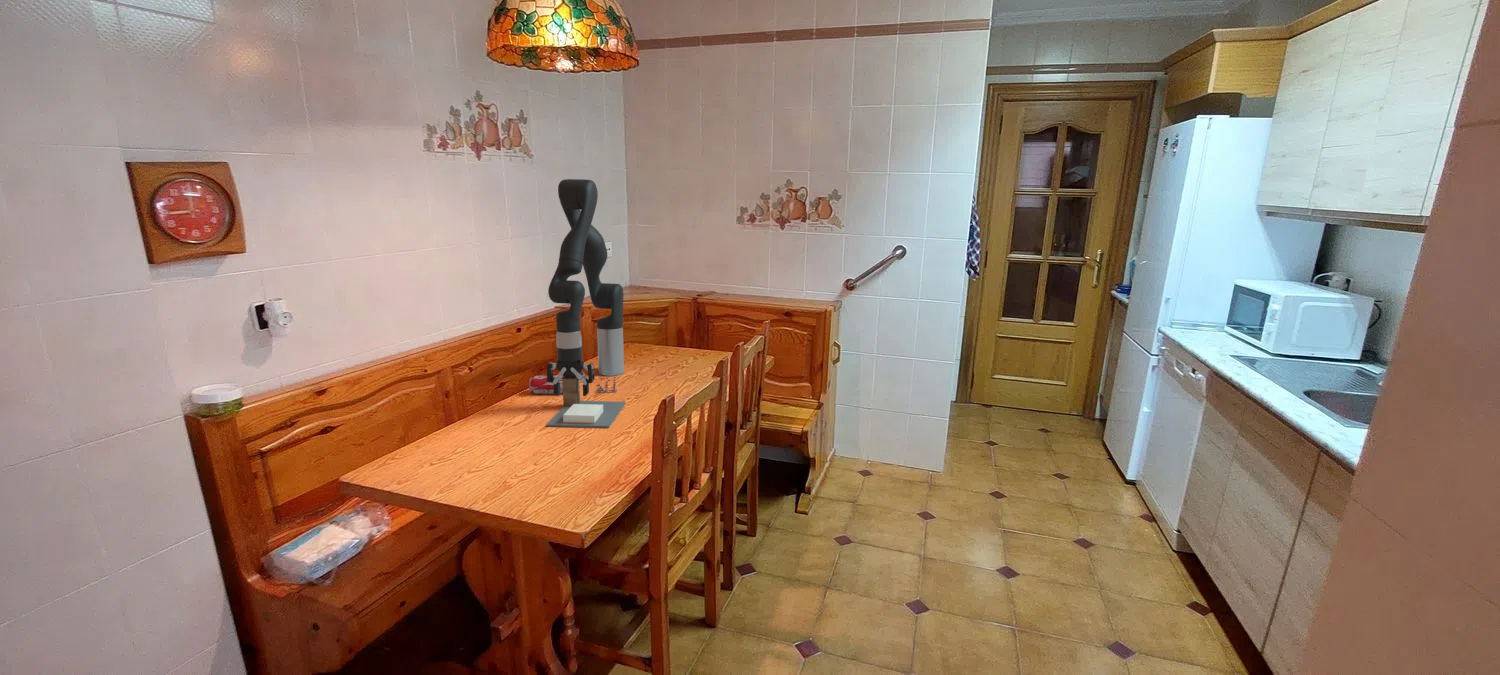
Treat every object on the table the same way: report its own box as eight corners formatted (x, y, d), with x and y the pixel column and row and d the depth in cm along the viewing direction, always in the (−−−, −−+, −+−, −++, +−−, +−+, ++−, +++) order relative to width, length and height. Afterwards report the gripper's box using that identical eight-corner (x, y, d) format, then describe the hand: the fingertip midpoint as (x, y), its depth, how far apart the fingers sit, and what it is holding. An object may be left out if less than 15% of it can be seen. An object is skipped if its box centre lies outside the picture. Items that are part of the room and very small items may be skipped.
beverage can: (566, 378, 199) (528, 379, 198) (566, 396, 200) (529, 397, 199) (569, 373, 205) (533, 373, 204) (570, 390, 206) (534, 391, 205)
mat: (569, 402, 194) (569, 400, 194) (625, 403, 194) (625, 401, 194) (546, 426, 173) (546, 424, 173) (608, 428, 173) (608, 426, 172)
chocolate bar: (617, 379, 222) (617, 374, 222) (617, 395, 204) (617, 390, 203) (597, 380, 221) (597, 375, 220) (595, 396, 202) (594, 390, 202)
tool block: (567, 402, 192) (566, 375, 190) (580, 402, 192) (579, 375, 190) (563, 406, 188) (562, 378, 186) (576, 406, 188) (575, 379, 186)
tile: (573, 404, 184) (563, 415, 174) (603, 404, 183) (594, 415, 174) (573, 411, 184) (563, 422, 174) (603, 412, 184) (594, 423, 174)
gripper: (595, 342, 190) (597, 392, 193) (550, 341, 190) (553, 391, 193) (588, 348, 182) (590, 399, 186) (542, 347, 183) (544, 398, 186)
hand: (571, 395), depth 190 cm, fingers open, 8 cm apart
